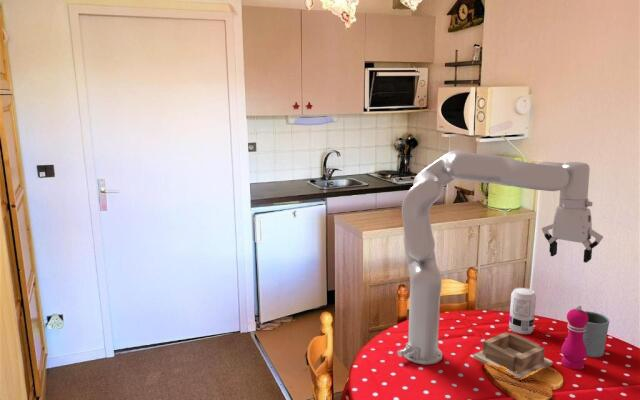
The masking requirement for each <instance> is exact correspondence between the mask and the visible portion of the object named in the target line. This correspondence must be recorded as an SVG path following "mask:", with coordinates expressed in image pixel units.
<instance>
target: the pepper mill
mask: <svg viewBox="0 0 640 400" xmlns="http://www.w3.org/2000/svg"><path fill="white" fill-rule="evenodd" d="M566 320H567V321H568V323H567V326H566V327H567V329H568V333H567V334H568V335H567V337H566V339H565V340H564V342H563V343H562V345H561V349H560V352H561V354H562V357H561V364H562V365H563V366H565V367H566V368H568V369H571V370H583V369H584V368H585V367H584V366H585V359H586V358H587V357H588V356H587V350H586V347H585V344H584V341H583V333H584V331H585V328H586V326H585V325H586V324H587V323H588V315H587V314H586V312H584V310H582V306H581V305H579V304H576V305H575V307H574V308H572V309H570V310H569V311H568V312H567V314H566Z"/></svg>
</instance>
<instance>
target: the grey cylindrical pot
mask: <svg viewBox="0 0 640 400" xmlns="http://www.w3.org/2000/svg"><path fill="white" fill-rule="evenodd" d="M583 311H584V310H583ZM584 312H586V314H587V315H588V323H587V324H586V325H585V326H586V328H585V331H584V333H583V341H584V344H585V347H586V350H587V357H590V358H601V357H602V356H604V354H605V349H606V341H607V335H608V332H609V326H610V319H609V318H608V317H607V316H606V315H603V314H601V313H598V312H594V311H586V310H585V311H584Z"/></svg>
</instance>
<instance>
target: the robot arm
mask: <svg viewBox="0 0 640 400" xmlns="http://www.w3.org/2000/svg"><path fill="white" fill-rule="evenodd" d="M454 180H458V181H466V182H475V183H485V184H494V185H501V186H507V187H515V188H520V189H529V190H535V191H544V192H545V191H547V192H557V191H559V204H558V205H557V206H556V209H555V212H554V217H553V222H552V224H549V225H546V226H544V227H542V228H541V231H542V233H543V235H544V238H545V239H546V240H547V241H548V244H549V253H550V257H554V256H556V255H557V254H558V242H557V240H562V241H568V242H574V243H581V244H582V245H583V246H584V247H585V249H584V250H583V263H586V264H587V263H588V262H589V261H590V260H592V255H593V249H594V248H595V247H597V246H598V245H599V244H600V243H601V241H602V240H603V239H604V235H602V234H600V233H599V232H598V231H595V230H593V227H592V226H593V225H592V211H591V209H590V208H588V207H593V204H594V203H593V201H589V183H590V165H589V164H588V163H585V162H580V161H573V162H572V161H570V162H553V161H541V162H538V163H534V162H528V161H523V160H517V159H515V158H511V157H508V156H502V155H493V154H482V153H475V152H465V151H463V150H461V149H460V150H459V149H453V150H450V151H449V152H446V153H445V154H444V155H442V156H441V157H439V158H438V159H436V160H435V161H434V162H432V163H431V164H429V165H428V166H427V167H425V168H423V169H422V170H421V171H420V172H418V173H417V174H416V176H415V177H414V179H413V181H412V185H413V186H412V187H410V188H409V190H408V191H407V192H406V194H405V196H404V197H403V201H402V203H401V217H402V226H403V232H404V233H403V246H404V252H405V257H406V262H407V269H408V273H409V274H408V275H409V280H410V281H409V283H410V284H409V287H410V289H409V300H408V301H409V302H408V303H409V305H408V309H409V310H408V311H409V313H408V336H407V337H408V338H407V339H408V341H407V342H406V343H405V347H404V348H402V349H399V350H397V352H396V354H397V356H398V357H402V356H403V357H404V358H405V359H406V360H408V361H409V362H412V363H415V364H418V365H435V364H437V363H439V362H440V361H441V360H443V352H442V351H441V349H440V348H439V327H440V324H439V323H440V304H441V303H440V302H441V293H442V285H443V284H442V281H443V280H442V275H441V272H440V268H439V267H438V265H437V260H436V259H437V258H436V253H435V249H436V245H435V244H436V242H435V239H434V234H433V229H432V224H431V223H432V221H431V215H430V211H431V208H432V206H433V204H434V203H435V202H436V201H438V200H439V199H440V198H441V197H442V195H443V193H444V187H445V186H448V184H450V183H452V182H453V181H454ZM549 230H552V233H550V231H549ZM551 234H552V235H551ZM592 237H594V238H595V240H594V241H593V242H592V241H591V239H592Z"/></svg>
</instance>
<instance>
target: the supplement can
mask: <svg viewBox="0 0 640 400" xmlns="http://www.w3.org/2000/svg"><path fill="white" fill-rule="evenodd" d="M536 302H537V296H536V293H535V291H534V290H533V289H531V288H528V287H515V288H513V290H512V292H511V295H510V307H509V309H510V310H509V319H508V320H509V322H508V327H509V329H510V330H511V331H512V332H514V334H520V335H529V334H531V333H532V332H533V331H534V324H535V315H536V313H535V311H536Z"/></svg>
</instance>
